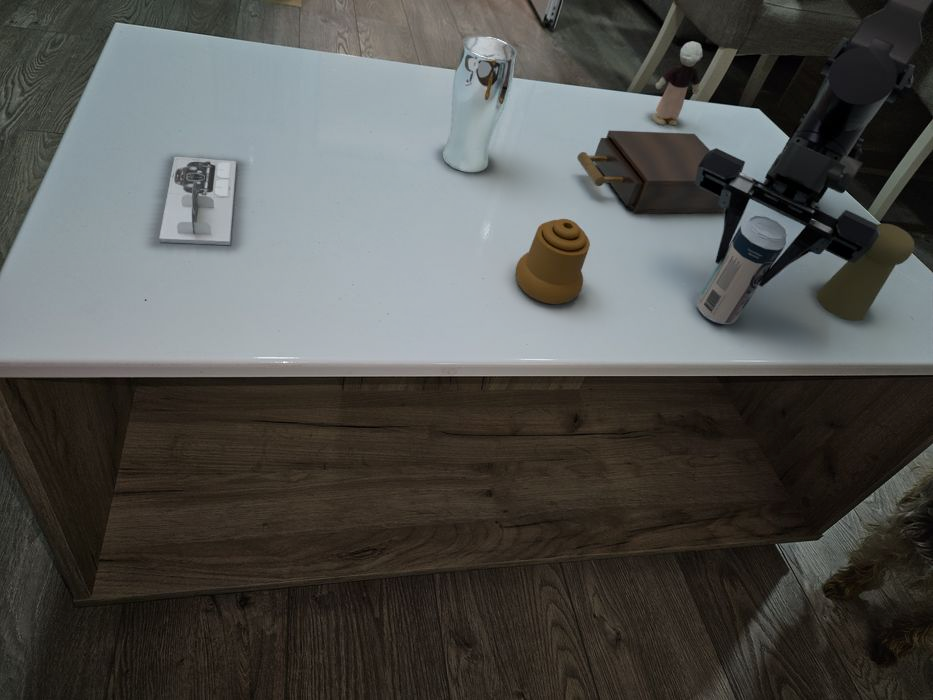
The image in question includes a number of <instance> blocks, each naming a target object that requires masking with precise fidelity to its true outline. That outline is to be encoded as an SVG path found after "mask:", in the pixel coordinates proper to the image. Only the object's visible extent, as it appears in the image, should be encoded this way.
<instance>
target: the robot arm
mask: <svg viewBox="0 0 933 700" xmlns="http://www.w3.org/2000/svg"><path fill="white" fill-rule="evenodd" d="M932 5H933V0H887V2H886V4H885V5H884V6H883V7H882V9H880V10H878V11H875V12H874V13H872V14H869V15H868V16H865V17H864V18H862V20H861V21H860V23H859V25H858V26H857V27H856V29H855V31H854V32H853V34H852V35H851V37H850V38H847V37H842V39H841V40H840V41H839V43H838V44H837V46H836V47H835V48H834V49H833V51H832V52H831V54H830V55H829V57H828V58H827V60H826V61H825V63H824V65H823V67H822V69H821V71H820V74H822V75H824V76H825V78H824V79H823V81H822V84H821V85H820V88H819V89H818V91H817V93H816V96H815V99H814V100H813V104H812V106H810V108H809V110H808V112H807V113H806V114H805V113H803V114H802V116H801V117H800V120H799V121H798V122H797V124H796V126H795V127H794V129H793V131H792V133H791V134H790V135H789V136H790V137H789V138H788V140H787V142H785V143H786V144H785V145H784V147H783V149H782V150H781V152H780V153H779V154H778V155H777V157H776V158H775V159H774V162H772V165H771V166H770V168H769V169H768V171H767V173H766V174H765V176H764V179H765V180H764V181H763V182H761V181H759V180H757V179H756V178H754V177H751V176H750V175H748V174H745V173H743V169H744V167H745V164H746V161H745V160H742V159H740V158H738V157H736V156H734V155H732V154H730V153H728V152H725V151H723V150H722V149H719V148H717V147H715V148H713V149H711V150H710V149H709V150H710V151H708V152H707V153H706V155H705V156H704V158H703V159H702V161H701V162H700V164H699V166H698V169H697V174H696V180H695V184H696V185H697V186H698V187H699V188H701V189H703V190H705V191H707V192H709V193H711V194H713V195H715V196H717V197H719V198H720V199H719V202H718V204H719V205H720V206H721V207H723V208H725V209H724V221H723V229H722V233H721V238H720V241H719V245H718V249H717V254H716V258H715V261H714V262H715V263H714V264H716V265H718V264H719V262H720V261H721V259H722V258H723V256H724V254H725V252H726V251H727V248H728V246H729V245H730V243H731V241H732V240H733V238H734V236H735V234H736V232H737V230H738V228H739V224H740V223H741V221H742V218H743V216H744V213H745V212H746V209H747V206H748V204H749V202H750V200H751V201H754V202H756V203H758V204H759V205H761V206H764V207H766V208H768V209H770V210H773V211H774V212H776V213H778V214H780V215H782V216H785V217H786V218H789V219H791V220H793V221H794V222H796V223H798V224H801V225H803V226H804V227H803V229H801V231H800V232H799V233H798V235H797V236H796V237H795V239H794V240H792V242H791V243H790V244H789V246H788V247H787V248H786V249H785V250H784V251H783V253H782V254H781V255H779V256H778V258H777V259H776V260H775V262H774V263H773V265H772V266H771V268H770V269H769V270H768V272H767V273H766V275H765V276H764V278H763V279H762V281H761V282H760V284H759V286H758V287H761V288H764V287H765V285H767V284H768V283H769V282H770V281H772V280H773V279H774V278H775V277H776V276H777V275H778V274H780V273H781V272H782V271H784V270H785V269H786V268H787V267H789V265H791V264H792V263H794V262H796V261H798V260H799V259H801V258H802V257H804V256H806V255H807V254H809V253H813V254H815V255H821V254H823V252H824V251H826V252H827V253H830V254H832V255H834V256H836V257H837V258H840V259H842V260H844V261H846V262H853V263H855V262H856V261H857V260H859V259H860V258H861V257H862V256H863V255H865V254H866V253H867V252H868V251H869V250H870V249H871V247H872V246H873V244H874V243H875V241H876V239H877V238H878V236H879V234H880V232H879V227H878V225H877V224H878V223H875V222H873V221H871V220H869V219H867V218H865V217H863V216H860V215H858V214H857V213H854V212H851V211H850V210H848V209H845V210H844V211H843V212H842V213H841V214H840V215H839V217H837V218H835V217H834V216H831V215H829V214H827V213H825V212H824V211H821V210H820V207H819V205H817V204H819V203H820V201H821V200H822V199H823V197H824V195H825V194H826V192H827V190H828V189H830V190H832V191H835V192H836V193H839V194H844V193H845V192H846V191H847V190H848V188H849V186H850V185H851V183H852V182H853V180H854V179H855V177H856V176H857V174H858V172H859V171H860V169H861V167H862V166H863V164H864V162H862V161H861V160H859V158H860V157H861V156H862V154H863V151H862V146H863V145H862V144H863V142H864V140H865V139H863V138H861V136H862V134H863V133H864V131H865V130H866V127H867V125H868V124H869V123H870V122H871V120H873V118H874V117H875V116H876V114H877V113H878V111H879V110H880V109H881V107H882V105H883V104H884V103H885V102H888V103H891V104H893V103H894V102H895V101H896V99H900V100H902V101H903V100H904V99H905V97H906V96H907V94H908V92H909V91H910V89H911V87H912V85H913V83H914V75H913V74H914V72H915V70H914V69H915V67H916V65H914V64H911V61H912V60H913V58H914V57H915V55H916V53H917V52H918V50H919V49H920V46H921V45H922V44H923V34H922V25H921V23H922V21H923V20H924V18H925V17H926V15H927V13H928V12H929V10H930V9H931V6H932Z"/></svg>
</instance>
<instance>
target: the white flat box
mask: <svg viewBox="0 0 933 700" xmlns="http://www.w3.org/2000/svg"><path fill="white" fill-rule="evenodd" d="M236 173H237V161H236V160H227V159H213V158H201V157H187V156H186V157H185V156H174V157H173V162H172V167H171V173H170V177H169V183H168V189H167V194H166V198H165V199H166V200H165V204H164V205H165V206H164V209H163V215H162V219H161V226H160V231H159V236H158V242H159V243H170V244H171V243H173V244H191V245H192V244H194V245H217V246H218V245H219V246H231V241H232V226H233V215H234V212H233V211H234V199H235V190H236V189H235V187H236V175H237V174H236Z"/></svg>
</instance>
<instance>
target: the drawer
mask: <svg viewBox="0 0 933 700" xmlns="http://www.w3.org/2000/svg"><path fill="white" fill-rule="evenodd" d="M576 159H577V161H578V163H579V164H580V166H581V167H582V168H583V169H584V171H585V172H586V174H587V175H588V177H589V178H590V179H591V181H592V183H593V184H594V185H595V186H596V187H601V186H603V185H604V184H610V185H611V186H612V187H613V189H614V190H615V192H616V193H617V195H618V196H619V198H620V199H621V200H622V201H623V203H624V204H625V206H626V207H629V206H634V205H635V203H636V201H637V198H638V197H639V195H640V193H641V190H642V188H643V186H644V184H645V181H644V180H643V179H642V178H641V176H640V175H639V174H638V172H637V171H636V170H635V169H634V167H633V166H632V165H631V164H630V162H629V161H628V160H627V158H626V157H625V156H624V155H623V153H622V152H621V151H620V150H619V148H618V147H617V146H616V144H615V146H614V145H613V143H612V142H611V141H610V139H609V138H606V137H600V139H599V142H598V145H597V147H596V150H595V153H594V154H593V155H589V154H588V153H587V152H585V151H581V152H579V154H578V155H577V158H576ZM601 172H602V173H601Z"/></svg>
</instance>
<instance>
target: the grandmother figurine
mask: <svg viewBox="0 0 933 700" xmlns="http://www.w3.org/2000/svg"><path fill="white" fill-rule="evenodd" d="M679 56H680V63H681V65H675V66H673V67H672V66H671V68H669V69H668V70H667V71H666V72H665V73H664V74H662V76H661V78H660V79H659V81H658V82H656V83H655V89H657V90H661V89H662V88H663V86H664V85H666V84H667V83H668V84H667V86H666V89H665V90H664V93H663V95H662V97H661V98H660V101H659V102H658V103H657V106H656V109H655V112H656V113H653V115H652V116H651V119H652V120H653V121H654V122H655V123H656V124H658V125H661V126H665V125H666V124H668V125H671V126H677V125H678V120H677V119H678V118H679V116H680V114H681V111H682V109H683V106H684V102H685V98H686V96H687V95H686V94H687V91H688V88H689V86H690V84H691V85H692V86H691V87H692V91H691V92H692V93H693V94H694V95H697V94H699V92H700V88H699V87H700V77H699V76H700V75H699V73H698V70H697V68H695V67H693V66H694V65H696V63H697V62H699V61H701V59H702V58H703V48H702V45H701V43H699V42H697V41H693V40H692V41H688V42H686V43H684V45H683V46H682V47H681V48H680V53H679Z"/></svg>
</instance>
